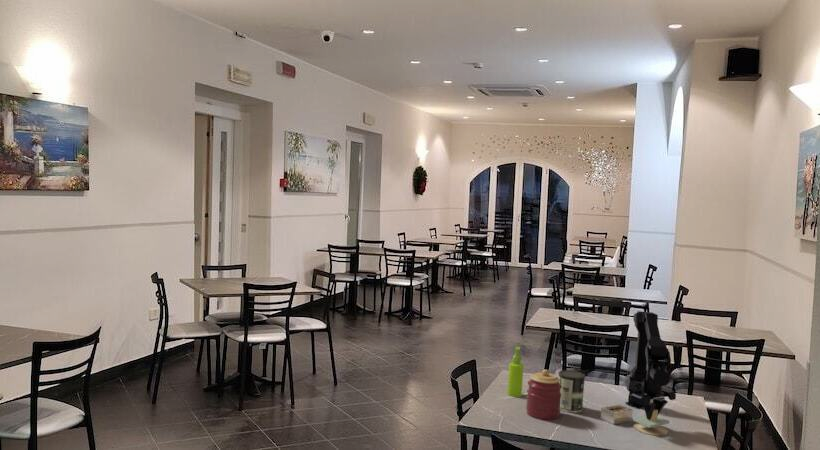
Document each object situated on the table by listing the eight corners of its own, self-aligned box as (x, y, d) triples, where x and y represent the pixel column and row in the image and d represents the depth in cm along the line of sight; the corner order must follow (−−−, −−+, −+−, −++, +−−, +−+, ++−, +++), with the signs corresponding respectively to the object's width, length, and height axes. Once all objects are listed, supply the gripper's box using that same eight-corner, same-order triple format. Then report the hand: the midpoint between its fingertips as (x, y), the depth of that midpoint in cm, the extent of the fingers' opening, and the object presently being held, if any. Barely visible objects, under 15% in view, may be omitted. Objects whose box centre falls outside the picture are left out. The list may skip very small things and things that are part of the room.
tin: (618, 415, 251) (619, 404, 251) (631, 421, 245) (632, 409, 245) (600, 418, 246) (601, 407, 246) (613, 424, 240) (614, 413, 240)
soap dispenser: (522, 392, 273) (526, 346, 271) (520, 397, 266) (523, 350, 265) (509, 390, 274) (512, 345, 273) (506, 395, 268) (509, 348, 267)
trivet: (648, 421, 246) (648, 420, 246) (675, 432, 236) (675, 431, 236) (626, 425, 240) (626, 424, 240) (653, 437, 230) (653, 436, 230)
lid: (652, 418, 244) (653, 404, 243) (669, 425, 237) (670, 410, 237) (632, 422, 238) (634, 407, 238) (649, 429, 232) (650, 414, 231)
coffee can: (581, 405, 260) (584, 371, 259) (583, 414, 250) (585, 379, 249) (555, 402, 262) (558, 368, 261) (556, 411, 252) (558, 376, 251)
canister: (562, 412, 251) (566, 368, 250) (555, 422, 239) (559, 376, 238) (530, 406, 256) (533, 362, 255) (521, 415, 245) (524, 370, 244)
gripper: (653, 369, 248) (650, 408, 249) (620, 374, 239) (617, 415, 240) (678, 377, 239) (674, 418, 240) (644, 383, 229) (641, 425, 230)
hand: (651, 418), depth 238 cm, fingers closed on lid, 3 cm apart
